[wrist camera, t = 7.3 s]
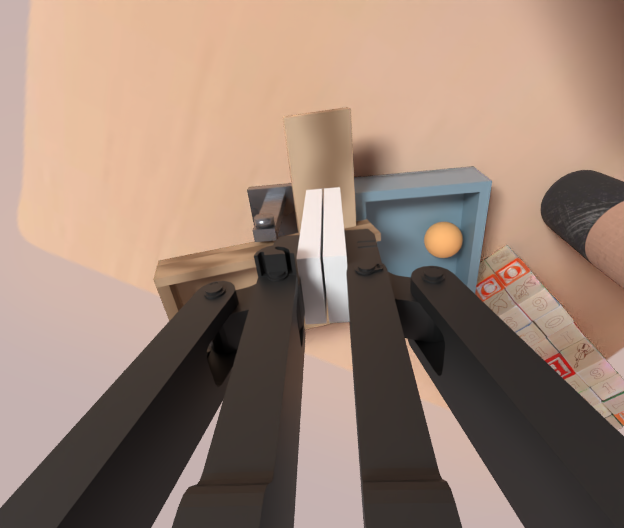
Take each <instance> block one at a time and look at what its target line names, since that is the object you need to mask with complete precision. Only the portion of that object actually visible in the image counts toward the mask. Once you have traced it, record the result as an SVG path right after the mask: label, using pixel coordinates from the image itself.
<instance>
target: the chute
mask: <svg viewBox="0 0 624 528" xmlns="http://www.w3.org/2000/svg"><path fill="white" fill-rule="evenodd" d="M283 123H284V130H285V138H286V145H287V153H288V160H289V168H290V175H291V182H292V190H293V197H294V205H295V212H296V220H297V227H298V233H296V234H291V235H300V230H301V223H302V216H303V209H304V202H305V195H306V190H313V189H322V194H323V205H324V188H336V187H340V192H341V203H342V213H343V224H344V230H357V229H369V230H370V231H371V232H373V233H374V234H375V238H376V242H377V241H381V233H380V232H379V231H378V230H377V229H376V228H375V227H374V226H373V225H372V224H371V223H370V222H369V221H368V220H367V219H366V220H361V221H356V212H355V190H354V168H353V146H352V124H351V109H350V108H347V107H346V108H339V109H332V110H325V111H318V112H312V113H305V114H298V115H291V116H284V117H283ZM286 236H290V235H286ZM278 238H279V237H278ZM278 238H277V239H278ZM274 242H275V241H264V242H250V243H245V244H240V245H235V246H230V247H225V248H220V249H215V250H210V251H205V252H200V253H195V254H190V255H185V256H180V257H175V258H170V259H165V260H160V261H158V265H157V269H156V272H155V276H154V282H155V285H156V288H157V290H158V293H159V295H160V298H161V300H162V303H163V306H164V308H165V311H166V313H167V316H168V319H169V321H170V320H171V319H172V318H173V317H174V316H175V315H176V313H177V312H178V311H179V310H180V309H181V308H182V307H183V306H184V305H185V304H186V302H187V301H188V300H189V299H190V298H191V297H192V296H193V295H194V294H195V293H196V291H197V290H199V289H200V288H201V287H202V286H204V285H206V284H208V283H211V282H215V281H227V282H231V283H232V284H234V286H235V290H239V289H243V288H246V287H249V286H252V285H254V284H256V283H257V279H258V274H257V269H256V265H255V260H254V255H255V253H256V252H257V251H259V250H260V249H262V248H265V247H267V246H272V245H273V244H274ZM327 324H331V323H329V315H328V305H327V323H322V324H306V323H305V316H304V327H305V330H306V329H310V328H315V327H319V326H323V325H327Z"/></svg>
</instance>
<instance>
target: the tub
mask: <svg viewBox="0 0 624 528" xmlns="http://www.w3.org/2000/svg"><path fill="white" fill-rule="evenodd" d="M491 185H492V180H490V179H489V178H488V177H487V176H485V175H484V174H483V173H481V172H480V171H479V170H477V169H476V168H475V167H474V166H472V167H461V168H450V169H440V170H429V171H418V172H407V173H396V174H386V175H375V176H364V177H354V190H355V212H356V221H361V220H366V219H367V220H368V221H369V222H370V223H371V224H372V225H373V226H374V227H375V228H376V229H377V230H378V231H379V232H380V233H381V241H377V247H378V250H379V254H380V257H381V261H382V263H383V264H384V265H385V266H386V268H387V271H388V272H390V273H392V274H395V275H398V276H404V277H411V274H412V272H413V271H414V270H416V269H417V268H420V267H423V266H439V267H442V268H445V269H448V270H449V271H451V272H452V273H454V274H455V275H456V276H457V277H458V278H459V279H460V280H461V281H462V282H463V283H464V284H465V285H466V286H467V287H468V288H469V289H470V290H471V291H472V292H473V293H474V294H475V291H476V284H477V278H478V271H479V265H480V258H481V251H482V245H483V238H484V231H485V225H486V218H487V212H488V205H489V198H490V192H491ZM438 222H449V223H452V224H454V225H456V226H457V227H458V228H459V230H460V231H461V233H462V237H463V242H462V246H461V248H460V250H459V251H458V252H457V253H456V254H455V255H453V256H451V257H448V258H438V257H435V256H433V255H432V254H430V253H429V252H428V250H427V249H426V247H425V244H424V237H425V234H426V231H427V230H428V229H429V228H430V227H431V226H432V225H433V224H436V223H438Z"/></svg>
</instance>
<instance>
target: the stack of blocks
mask: <svg viewBox="0 0 624 528" xmlns="http://www.w3.org/2000/svg"><path fill="white" fill-rule="evenodd" d="M475 294H476V295H477V296H478V297H479V298H480V299H481V300H482V301H483V302H484V303H485V304H486V305H487V306H488V307H489V308H490V309H491V310H492V311H493V312H494V313H495V314H496V315H497V316H499V317H500V318H501V319H502V320H503V321H504V322H505V323H506V324H507V325H508V326H509V327H510V328H511V329H512V330H513V331H514V332H515V333H516V334H517V335H518V336H519V337H520V338H522V339H523V340H524V341H525V342H526V343H527V344H528V345H529V346H530V347H531V348H532V349H533V350H534V351H535V352H536V353H537V354H538V355H539V356H540V357H541V358H542V359H543V360H544V361H546V362H547V363H548V364H549V365H550V366H551V367H552V368H553V369H554V370H555V371H556V372H557V373H558V374H559V375H560V376H561V377H562V378H563V379H564V380H565V381H566V382H567V383H569V384H570V385H571V386H572V387H573V388H574V389H575V390H576V391H577V392H578V393H579V394H580V395H581V396H582V397H583V398H584V399H585V400H586V401H587V402H588V403H589V404H590V405H591V406H593V407H594V408H595V409H596V410H597V411H598V412H599V413H600V414H601V415H602V416H603V417H604V418H605V419H606V420H607V421H608V422H609V423H610V424H611V425H612V426H613V427H614V428H616V429H617V430H618V429H621V428H622V427H623V426H624V379H623V378H622V377H621V376H620V375H619V374H618V372H617V371H615V369H614V368H613V367H612V366H611V365H610V364H609V363H608V361H607V360H606V359H605V358H604V357H603V355H602V354H601V353H600V352H599V351H598V350H597V349H596V347H595V346H594V345H593V344H592V343H591V342H590V341H589V340H588V339H587V338H586V337H585V335H584V334H583V333H582V332H581V331H580V329H579V328H578V327H577V326H576V324H575V323H574V320H573V319H572V317H571V316H570V315H569V314H568V312H567V311H566V310H565V309H564V308H563V306H562V305H561V304H560V303H559V302H558V301H557V300H556V299H555V298H554V297H553V296H552V295H551V294H550V293H549V292H548V290H547V289H546V288H545V287H544V286H543V285H542V284H541V283H540V282H539V280H538V279H537V278H536V276H535V275H534V274H533V273H532V271H531V270H530V269H529V268H528V267H527V266H526V265H525V264H524V262H523V261H522V260H521V259H520V258H519V257H518V256H517V255H516V254H515V253H514V252H513V251H512V250H511V249H510V248H509V247H508V246H507V245H506V246H505V247H503V248H502V249H500V250H499V251H497V252H496V253H494V254H493V255H491V256H490V257H488V258H487V259H486V260H484V261H482V262H481V263H480V265H479V271H478V278H477V284H476V291H475Z"/></svg>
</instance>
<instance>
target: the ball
mask: <svg viewBox="0 0 624 528" xmlns="http://www.w3.org/2000/svg"><path fill="white" fill-rule="evenodd" d="M462 242H463V237H462V233H461V231H460V230H459V228H458V227H457V226H456V225H454V224H452V223H449V222H438V223H436V224H433V225H432V226H431V227H430V228H429V229H428V230H427V231H426V234H425V237H424V244H425V247H426V249H427V250H428V252H429V253H430V254H432V255H433V256H435V257H438V258H448V257H451V256H453V255H455V254H456V253H457V252H458V251H459V250H460V248H461V246H462Z"/></svg>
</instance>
